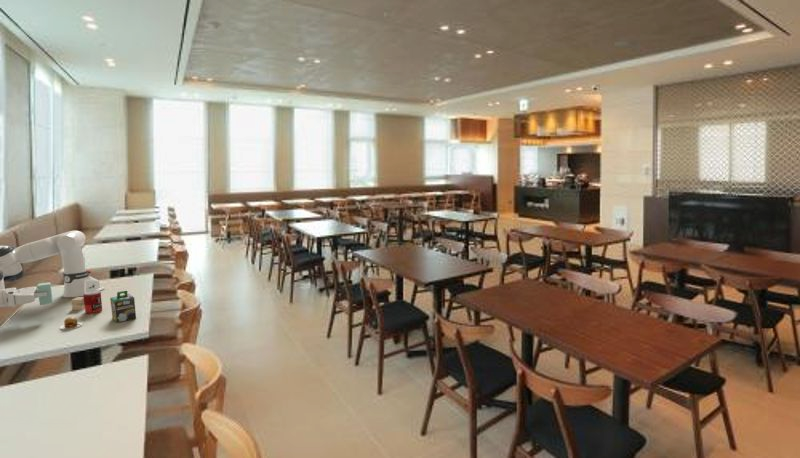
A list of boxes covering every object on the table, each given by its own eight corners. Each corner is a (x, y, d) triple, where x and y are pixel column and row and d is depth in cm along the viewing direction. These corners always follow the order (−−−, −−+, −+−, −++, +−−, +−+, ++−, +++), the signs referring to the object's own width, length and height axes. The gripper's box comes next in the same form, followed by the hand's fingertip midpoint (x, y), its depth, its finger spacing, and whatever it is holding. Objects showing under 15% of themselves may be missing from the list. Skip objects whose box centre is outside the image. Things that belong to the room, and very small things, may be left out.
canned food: (94, 314, 242) (92, 294, 240) (81, 313, 243) (79, 293, 242) (106, 310, 249) (104, 290, 248) (93, 309, 251) (91, 289, 249)
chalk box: (131, 314, 241) (129, 287, 239) (136, 318, 235) (134, 290, 233) (111, 318, 235) (109, 291, 233) (116, 323, 228) (113, 294, 226)
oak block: (77, 307, 253) (76, 297, 252) (87, 307, 254) (86, 296, 253) (72, 310, 248) (71, 299, 248) (82, 310, 249) (81, 299, 248)
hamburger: (79, 322, 231) (78, 312, 231) (90, 326, 225) (89, 316, 224) (51, 329, 221) (50, 318, 221) (62, 334, 215) (61, 323, 214)
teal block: (40, 302, 233) (38, 283, 231) (52, 300, 236) (50, 282, 234) (39, 305, 229) (37, 285, 227) (52, 303, 232) (49, 284, 230)
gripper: (15, 297, 233) (49, 293, 241) (10, 308, 216) (46, 303, 224) (13, 285, 232) (47, 281, 240) (8, 295, 215) (45, 290, 223)
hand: (47, 292), depth 232 cm, fingers closed on teal block, 5 cm apart
